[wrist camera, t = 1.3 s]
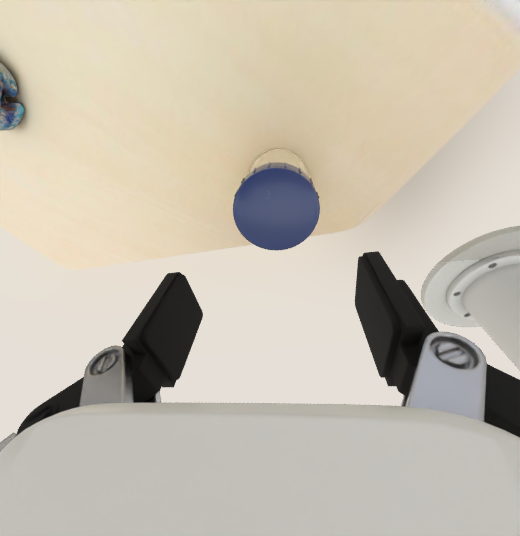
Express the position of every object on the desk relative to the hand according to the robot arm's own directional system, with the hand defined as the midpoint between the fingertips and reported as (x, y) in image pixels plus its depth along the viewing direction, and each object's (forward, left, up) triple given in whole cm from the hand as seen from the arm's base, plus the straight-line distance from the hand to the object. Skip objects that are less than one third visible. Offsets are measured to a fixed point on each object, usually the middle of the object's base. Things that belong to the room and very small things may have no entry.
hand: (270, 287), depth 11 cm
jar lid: (0, 0, -9) cm, 9 cm away
